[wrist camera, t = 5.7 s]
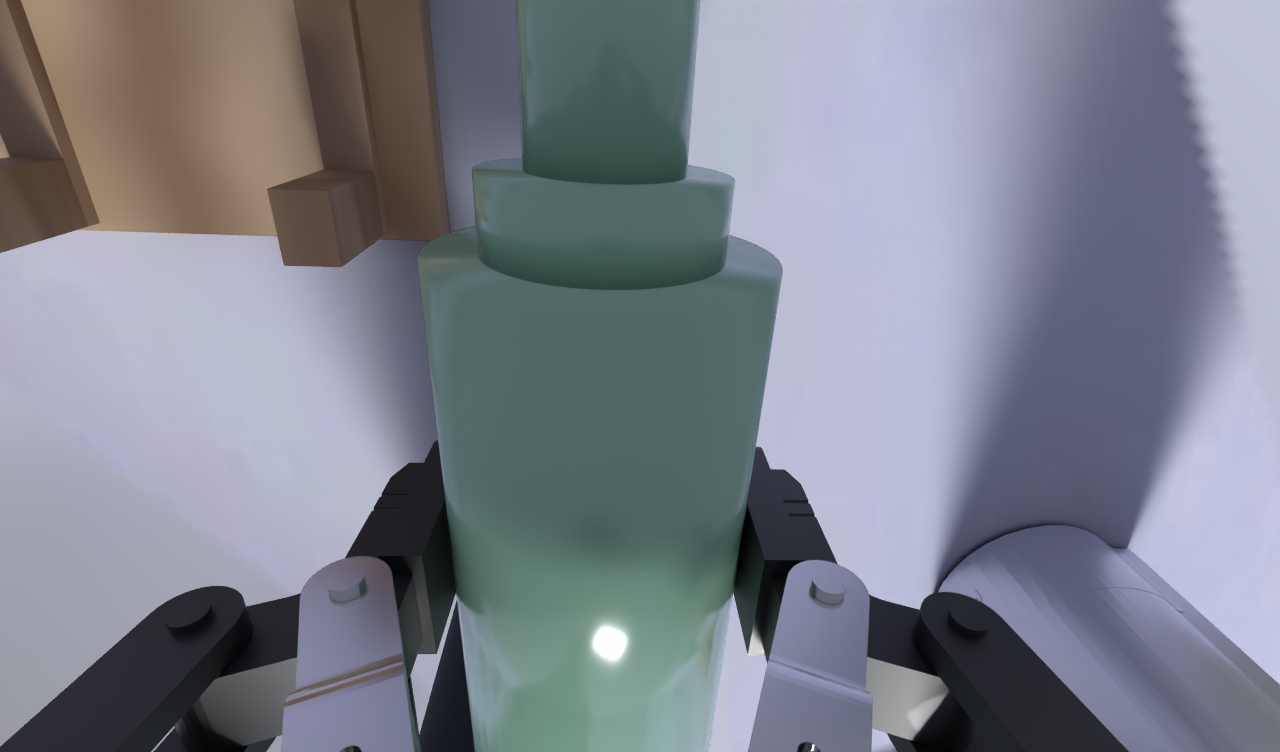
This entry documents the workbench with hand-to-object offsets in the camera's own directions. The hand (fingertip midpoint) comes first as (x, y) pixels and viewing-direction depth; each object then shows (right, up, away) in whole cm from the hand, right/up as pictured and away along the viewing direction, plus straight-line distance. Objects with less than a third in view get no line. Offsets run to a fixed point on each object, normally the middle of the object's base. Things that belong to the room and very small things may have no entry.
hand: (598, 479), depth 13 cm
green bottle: (0, +3, 0) cm, 3 cm away
